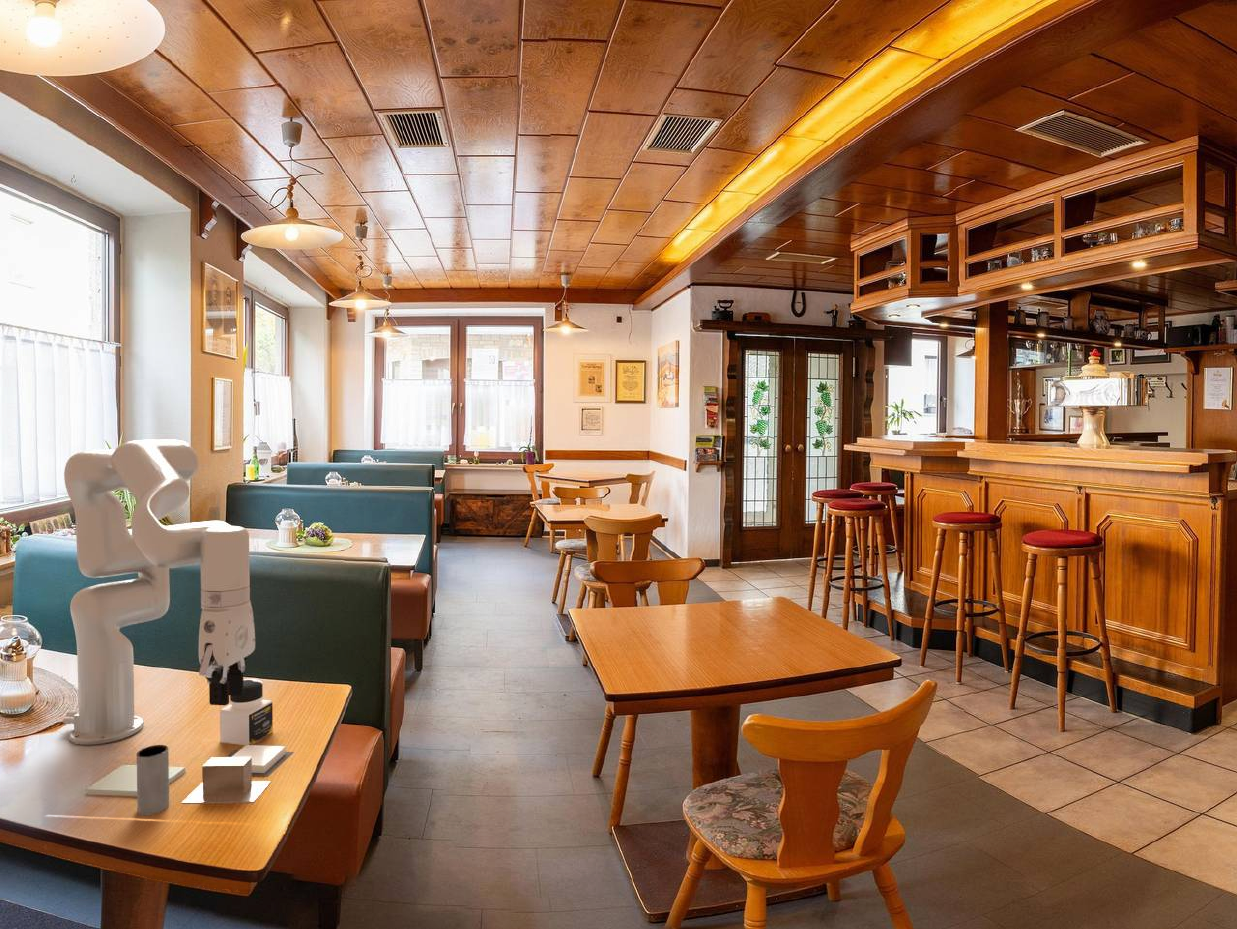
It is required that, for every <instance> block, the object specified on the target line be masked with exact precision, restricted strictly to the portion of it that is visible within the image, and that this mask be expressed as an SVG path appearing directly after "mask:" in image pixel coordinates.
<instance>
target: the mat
mask: <svg viewBox="0 0 1237 929" xmlns="http://www.w3.org/2000/svg"><path fill="white" fill-rule="evenodd" d="M239 750H240V749H234V750H233V751H232V752H230V753H229V754H228V755H227V756H226V757H232V756H233V755H234V754H235V753H237V752H238V751H239ZM294 753H295V752H294V751H286V754H285V755H284V756H283V757H282V758H280V759H279V760H278V761H277V762H276V763H275V764H274V765H273V766H272V767H271V768H270V769H268V770H267V771H266V772H265V773H252V777H259V778H260V777H261V778H268V777H269V776H270V775H271V774H272V773H273V772H274V771H276V770H277V769H278V768H279V767H280V766H281V765H282V764H283V763H284V762H285V761H287V759H288V758H289V757H291V756H292V755H293V754H294Z"/></svg>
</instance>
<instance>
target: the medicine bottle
mask: <svg viewBox="0 0 1237 929" xmlns="http://www.w3.org/2000/svg"><path fill="white" fill-rule="evenodd" d="M263 684H264V683H263V681H262V680H260V679H255V678H246V679H244V678H243V689H244V693H243V694H242V695H241V696H234V695H229V704H227V705H225V707H222V708H220V710H219V732H220V734H219V735H220V736H219V737H220V738H219V741H220V743H222V744H231V745H238V746H239V745H240V746H245V745H255V743H257V742H259V741H260V740H263V738H266V737H267V736H268V735H270V734H272V733H273V732H274V730H273V728H274V727H273V722H274V721H273V700H270V699H263V698H264V689H263Z"/></svg>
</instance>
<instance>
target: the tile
mask: <svg viewBox="0 0 1237 929" xmlns="http://www.w3.org/2000/svg"><path fill="white" fill-rule="evenodd" d="M238 750H239V751H238V752H237V753H235V754H234V755H233V756H232V757H252V773H265V772H266V771H267V770H268V769H270V768H271V767H272V766H273V765H274V764H275V763H276V762H277V761H278V760H279V759H280V758H282V757H283V756H284V755H285V754H286V752H287V751H286V745H285V746H283V745H263V744H262V745H260V744H252V745H243V747H242V748H241V749H238Z"/></svg>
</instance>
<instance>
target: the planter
mask: <svg viewBox="0 0 1237 929" xmlns="http://www.w3.org/2000/svg"><path fill="white" fill-rule="evenodd" d="M169 761H170V758H169V747H168V746H167V745H165V744H154V745H150V746H145V747H144V748H141V749H139V750H138V752H137V753H136V765H137V796H136V798H137V806H136V807H137V813H138V814H139V815H140V816H151V815H156V814H158V813H161V812H163V811H165V810H166V809H168V807H170V784H169V767H170V765H169V763H170V762H169Z"/></svg>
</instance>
